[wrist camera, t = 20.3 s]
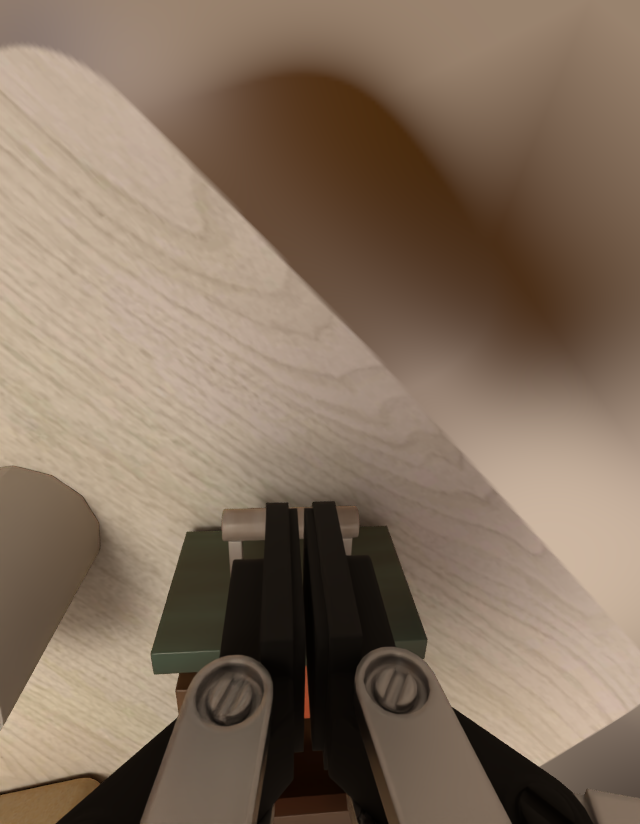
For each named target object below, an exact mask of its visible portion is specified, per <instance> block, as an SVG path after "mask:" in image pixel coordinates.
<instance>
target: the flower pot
mask: <svg viewBox="0 0 640 824" xmlns="http://www.w3.org/2000/svg"><path fill="white" fill-rule="evenodd" d="M99 785H100V784H99V782H97V781H96V780H94V779H91V778H79V779H75V780H70V781H65V782H60V783H55V784H50V785H46V786H41V787H36V788H32V789H27V790H22V791H18V792H13V793H9V794H4V795H0V824H56V823H57V822H58V821H59V820H60V819H61V818H62V817H63V816H64V815H66V814H67V813H68V812H69V811H70V810H71V809H72V808H74V807H75V806H76V805H77V804H78V803H79V802H81V801H82V800H83V799H84V798H85V797H86V796H87V795H89V794H90V793H91V792H92V791H93V790H94V789H96V788H97V787H98V786H99Z"/></svg>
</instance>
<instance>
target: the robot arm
mask: <svg viewBox="0 0 640 824" xmlns="http://www.w3.org/2000/svg"><path fill="white" fill-rule="evenodd" d="M306 665H307V680H308V696H309V711H310V727H311V742H312V751H322V752H323V764H324V770H328V774H329V777H330V778H331V779H332V780H333V781H334V782H335V783H336V784H337V785H338V786H339V787H340V788H341V789H342V790H343V791H345V792H346V800H347V807H348V811H349V815H350V819H351V823H352V824H640V799H639V798H635V797H629V796H624V795H618V794H612V793H607V792H602V791H597V790H591V789H586V792H585V794H584V795H580V794H575V793H573V792H571V791H570V790H569V789H568V788H567V787H566V786H564V785H563V784H562V783H561V782H560V781H558V780H557V779H556V778H554V777H553V776H551V775H550V774H549V773H547V772H546V771H544V770H543V769H541V768H540V767H538V766H537V765H536V764H534V763H533V762H531V761H530V760H528V759H527V758H525V757H524V756H522V755H521V754H520V753H518V752H517V751H515V750H514V749H512V748H511V747H509V746H508V745H506V744H505V743H504V742H502V741H501V740H499V739H498V738H496V737H495V736H493V735H492V734H491V733H489V732H488V731H486V730H485V729H483V728H482V727H480V726H479V725H477V724H476V723H475V722H473V721H472V720H470V719H469V718H467V717H466V716H464V715H463V714H461V713H460V712H459V711H457V710H456V709H454V708H453V707H451V705H450V703H449V701H448V699H447V697H446V695H445V693H444V691H443V690H442V688H441V686H440V684H439V682H438V680H437V678H436V676H435V674H434V673H433V671H432V670H431V668H430V667H429V666H428V664H427V663H426V662H425V661H424V660H422V659H421V658H420V657H419V656H418V655H416V654H414V653H412V652H410V651H408V650H406V649H402V648H397V647H396V645H395V642H394V638H393V635H392V631H391V628H390V624H389V621H388V617H387V613H386V610H385V606H384V603H383V599H382V596H381V592H380V589H379V585H378V582H377V578H376V574H375V571H374V567H373V564H372V560H371V558H370V556H369V555H346V552H345V547H344V543H343V538H342V533H341V528H340V523H339V519H338V514H337V509H336V504H335V502H334V501H328V502H313V503H312V508H304V535H303V585H302V570H301V555H300V540H299V525H298V511H297V508H289V503H288V502H286V503H266V523H265V546H264V558H260V559H234V560H233V564H232V570H231V577H230V584H229V592H228V599H227V606H226V613H225V621H224V628H223V635H222V642H221V649H220V657H219V659H216V660H214V661H212V662H210V663H209V664H207V665H206V666H204V667H203V668H202V669H201V670H200V671H199V672H198V673H197V674H196V675H195V676H194V678H193V680H192V682H191V684H190V686H189V687H188V690H187V692H186V695H185V698H184V701H183V704H182V706H181V709H180V712H179V715H178V718H176V719H175V720H174V721H173V722H172V723H171V724H170V725H168V726H167V727H166V728H165V729H164V730H163V731H161V732H160V733H159V734H158V735H157V736H156V737H155V738H153V739H152V740H151V741H150V742H149V743H148V744H146V745H145V746H144V747H143V748H142V749H141V750H139V751H138V752H137V753H136V754H135V755H134V756H133V757H131V758H130V759H129V760H128V761H127V762H126V763H124V764H123V765H122V766H121V767H120V768H119V769H118V770H116V771H115V772H114V773H113V774H112V775H111V776H109V777H108V778H107V779H106V780H105V781H104V782H103V783H101V784H100V785H99V786H98V787H97V788H96V789H94V790H93V791H92V792H91V793H90V794H89V795H87V796H86V797H85V798H84V799H83V800H82V801H81V802H79V803H78V804H77V805H76V806H75V807H74V808H72V809H71V810H70V811H69V812H68V813H67V814H66V815H64V816H63V817H62V818H61V819H60V820H59V821H58V822H57V823H56V824H273V821H274V814H275V802H276V801H277V799H278V798H279V797H280V796H281V794H282V793H283V792H284V791H285V789H286V788H287V787H288V786H289V785H290V783H291V782H292V781H293V780H294V752H304V713H305V667H306Z"/></svg>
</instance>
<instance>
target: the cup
mask: <svg viewBox="0 0 640 824" xmlns="http://www.w3.org/2000/svg"><path fill="white" fill-rule="evenodd" d="M99 550H100V539H99V522H98V521H97V519H96V518H95V516H94V514H93V513H92V511H91V510H90V508H89V507H88V505H87V503H86V502H85V500H84V499H83V497H82V496H81V495H79V494H78V493H77V492H75V491H74V490H72V489H71V488H69V487H68V486H66V485H65V484H63V483H62V482H60V481H59V480H57V479H56V478H55V477H53V476H52V475H48V474H44V473H40V472H36V471H32V470H28V469H24V468H20V467H16V466H8V467H0V730H1V729H2V727H3V726H4V724H5V722H6V720H7V718H8V716H9V715H10V713H11V711H12V709H13V707H14V705H15V704H16V702H17V700H18V698H19V696H20V694H21V693H22V691H23V689H24V687H25V685H26V684H27V682H28V680H29V678H30V676H31V674H32V673H33V671H34V669H35V667H36V665H37V663H38V662H39V660H40V658H41V656H42V654H43V652H44V651H45V649H46V647H47V645H48V643H49V642H50V640H51V638H52V636H53V634H54V632H55V631H56V629H57V627H58V625H59V623H60V621H61V620H62V618H63V616H64V614H65V612H66V610H67V609H68V607H69V605H70V603H71V601H72V599H73V598H74V596H75V594H76V592H77V590H78V589H79V587H80V585H81V583H82V581H83V579H84V578H85V576H86V574H87V572H88V570H89V568H90V567H91V565H92V563H93V561H94V559H95V557H96V556H97V554H98V552H99Z"/></svg>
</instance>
